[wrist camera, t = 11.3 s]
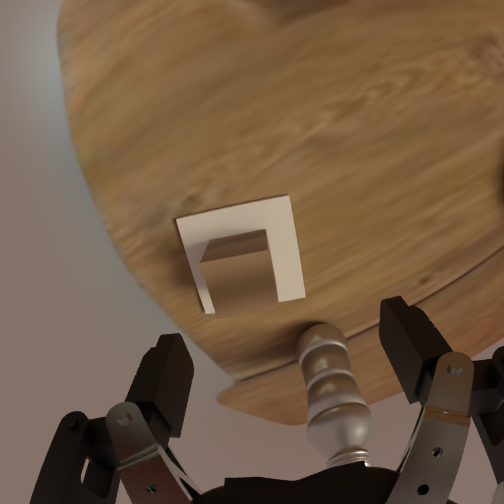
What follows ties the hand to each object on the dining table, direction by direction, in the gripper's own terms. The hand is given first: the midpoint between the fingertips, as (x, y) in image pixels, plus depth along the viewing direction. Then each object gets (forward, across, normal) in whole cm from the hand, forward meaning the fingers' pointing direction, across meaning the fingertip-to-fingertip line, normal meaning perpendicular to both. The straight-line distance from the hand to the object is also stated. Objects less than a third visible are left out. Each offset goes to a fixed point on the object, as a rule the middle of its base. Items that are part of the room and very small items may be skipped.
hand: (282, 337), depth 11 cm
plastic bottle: (+20, -4, +18) cm, 28 cm away
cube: (+20, +3, +5) cm, 21 cm away
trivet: (+20, +3, +5) cm, 21 cm away
